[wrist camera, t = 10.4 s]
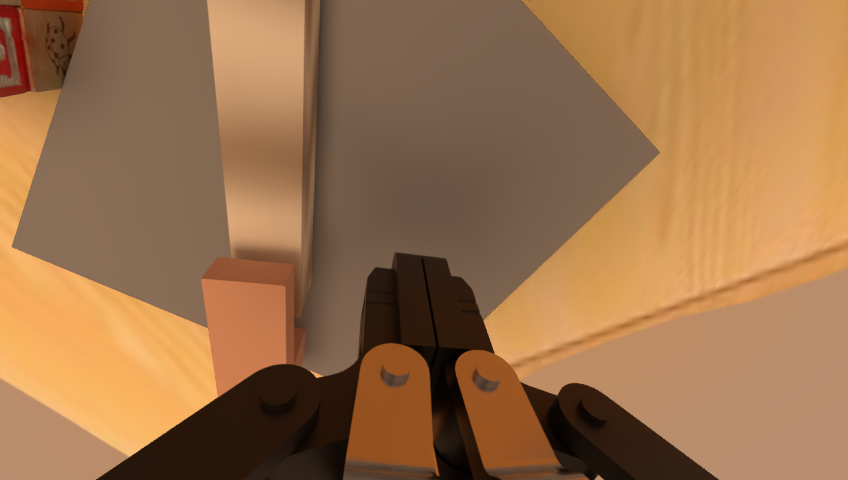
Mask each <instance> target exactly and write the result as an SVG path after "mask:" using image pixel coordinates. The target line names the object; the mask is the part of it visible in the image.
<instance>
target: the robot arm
mask: <svg viewBox="0 0 848 480" xmlns="http://www.w3.org/2000/svg"><path fill="white" fill-rule="evenodd" d="M598 475H599V476H600V477H602V478H603V479H604V480H718V479H717V478H716V477H714V476H713V475H712V474H710V473H709V472H707V471H706V470H705V469H703V468H702V467H701V466H700V465H698V464H697V463H696V462H694V461H693V460H692V459H690V458H689V457H687V456H686V455H685V454H684V453H682V452H681V451H680V450H678V449H677V448H675V447H674V446H673V445H671V444H670V443H669V442H667V441H666V440H665V439H663V438H662V437H661V436H659V435H658V434H657V433H655V432H654V431H653V430H651V429H650V428H649V427H647V426H646V425H645V424H643V423H642V422H641V421H639V420H638V419H636V418H635V417H634V416H633V415H631V414H630V413H628V412H627V411H626V410H624V409H623V408H622V407H620V406H619V405H618V404H616V403H615V402H614V401H612V400H611V399H610V398H608V397H607V396H606V395H604V394H603V393H601V392H599V391H598V390H596V389H594V388H592V387H590V386H587V385H584V384H579V383H571V384H567V385H565V386H564V387H562V389H561V390H560V392H559V393H558V395H554V394H551V393H548V392H545V391H543V390H540V389H537V388H534V387H531V386H528V385H526V384H524V383H522V382H520V381H519V378H518V376H517V374H516V373H515V371H514V370H513V368H512V367H511V366H510V365H509V364H508V363H507V362H506V361H505V360H504V359H502V358H501V357H499V356H497V355H495V353H494V350H493V347H492V345H491V342H490V339H489V336H488V333H487V330H486V327H485V325H484V322H483V319H482V316H481V315H480V310H479V307H478V305H477V304H476V299H475V296H474V293H473V290H472V288H471V287H470V286H469V285H468V284H467V283H466V282H465V280H464V279H463V278H462V277H457V276H451V273H450V269H449V266H448V262H447V260H446V258H439V257H431V256H423V255H421V256H420V255H415V254H407V253H399V252H395V254H394V257H393V262H392V267H391V269H388V268H379V267H375V268H374V270H373V271H372V272H371V273H370V275H369V276H368V277H367V283H366V289H365V295H364V302H363V308H362V314H361V322H360V335H359V347H358V360H357V361H356V362H355V363H354V364H353V365H351V366H350V367H349V368H347V369H346V370H344V371H341V372H339V373H336V374H333V375H328V376H324V377H320V378H316V377H315V376H314V375H313V374H312V373H311V372H310V371H308V370H307V369H305V368H303V367H300V366H297V365H293V364H277V365H272V366H269V367H265V368H263V369H261V370H259V371H257V372H255V373H253V374H252V375H250V376H249V377H247V378H246V379H244V380H243V381H241V382H240V383H239V384H237V385H236V386H234V387H233V388H231V389H230V390H228V391H227V392H225V393H224V394H222V395H221V396H219V397H218V398H216V399H215V400H213V401H212V402H210V403H209V404H207V405H206V406H204V407H203V408H202V409H200V410H199V411H197V412H196V413H194V414H193V415H191V416H190V417H188V418H187V419H185V420H184V421H182V422H181V423H179V424H178V425H176V426H175V427H173V428H172V429H170V430H169V431H167V432H166V433H165V434H163V435H162V436H160V437H159V438H157V439H156V440H154V441H153V442H151V443H150V444H148V445H147V446H145V447H144V448H142V449H141V450H139V451H138V452H136V453H135V454H133V455H132V456H130V457H129V458H128V459H126V460H125V461H123V462H122V463H120V464H119V465H117V466H116V467H114V468H113V469H111V470H110V471H108V472H107V473H105V474H104V475H103V476H101V477H99V478H98V479H96V480H595V478H596V477H597V476H598Z"/></svg>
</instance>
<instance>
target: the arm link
mask: <svg viewBox="0 0 848 480" xmlns="http://www.w3.org/2000/svg"><path fill="white" fill-rule="evenodd" d="M207 5H208V16H209V27H210V37H211V48H212V58H213V69H214V80H215V90H216V101H217V111H218V122H219V133H220V143H221V154H222V164H223V175H224V186H225V196H226V207H227V217H228V228H229V239H230V249H231V258H233V259H243V260H254V261H264V262H274V263H285V264H294V317H295V318H300V317H301V314H302V310H303V307H304V304H305V301H306V298H307V295H308V291H309V288H310V285H311V276H312V245H313V214H314V182H315V151H316V120H317V88H318V57H319V26H320V0H207Z"/></svg>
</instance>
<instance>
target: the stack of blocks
mask: <svg viewBox="0 0 848 480" xmlns="http://www.w3.org/2000/svg"><path fill="white" fill-rule="evenodd" d="M82 10H83V1H82V0H0V97H6V96H11V95H17V94H22V93H25V92H28V91H32V92H41V91H48V90H53V89H60V88H62V86H63V83H64V80H65V77H66V74H67V71H68V68H69V64H70V61H71V58H72V55H73V52H74V49H75V46H76V42H77V39H78V36H79V33H80V30H81V27H82V15H81V12H82Z"/></svg>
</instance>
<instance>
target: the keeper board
mask: <svg viewBox="0 0 848 480" xmlns="http://www.w3.org/2000/svg"><path fill="white" fill-rule="evenodd" d="M659 153H660V152H659V151H658V150H657V148H656V147H655V146H654V145H653V144H652V143H651V142H650V141H649V140H648V139H647V137H646V136H645V135H644V134H643V133H642V132H641V131H640V130H639V129H638V128H637V127H636V125H635V124H634V123H633V122H632V121H631V120H630V119H629V118H628V117H627V116H626V114H625V113H624V112H623V111H622V110H621V109H620V108H619V107H618V106H617V105H616V103H615V102H614V101H613V100H612V99H611V98H610V97H609V96H608V95H607V94H606V93H605V91H604V90H603V89H602V88H601V87H600V86H599V85H598V84H597V83H596V82H595V80H594V79H593V78H592V77H591V76H590V75H589V74H588V73H587V72H586V71H585V70H584V68H583V67H582V66H581V65H580V64H579V63H578V62H577V61H576V60H575V59H574V57H573V56H572V55H571V54H570V53H569V52H568V51H567V50H566V49H565V48H564V46H563V45H562V44H561V43H560V42H559V41H558V40H557V39H556V38H555V37H554V36H553V34H552V33H551V32H550V31H549V30H548V29H547V28H546V27H545V26H544V25H543V23H542V22H541V21H540V20H539V19H538V18H537V17H536V16H535V15H534V14H533V13H532V11H531V10H530V9H529V8H528V7H527V6H526V5H525V4H524V3H523V2H522V0H320V26H319V57H318V88H317V120H316V151H315V182H314V214H313V245H312V276H311V285H310V288H309V291H308V295H307V298H306V301H305V304H304V307H303V310H302V314H301V317H300V318H295V317H294V264H285V263H274V262H264V261H254V260H243V259H233V258H231V249H230V239H229V228H228V217H227V207H226V196H225V186H224V175H223V164H222V154H221V143H220V133H219V122H218V111H217V101H216V90H215V80H214V69H213V58H212V48H211V37H210V27H209V16H208V5H207V0H90V1H89V5H88V8H87V11H86V14H85V17H84V20H83V23H82V27H81V30H80V33H79V36H78V39H77V42H76V46H75V49H74V52H73V55H72V58H71V61H70V64H69V68H68V71H67V74H66V77H65V80H64V83H63V86H62V90H61V93H60V96H59V99H58V102H57V105H56V109H55V112H54V115H53V118H52V121H51V124H50V127H49V131H48V134H47V137H46V140H45V143H44V146H43V149H42V153H41V156H40V159H39V162H38V165H37V168H36V172H35V175H34V178H33V181H32V184H31V187H30V190H29V194H28V197H27V200H26V203H25V206H24V209H23V212H22V216H21V219H20V222H19V225H18V228H17V231H16V235H15V238H14V241H13V244H12V247H13V248H15V249H18V250H20V251H22V252H25V253H27V254H30V255H32V256H35V257H37V258H39V259H42V260H44V261H47V262H49V263H52V264H54V265H56V266H59V267H61V268H64V269H66V270H68V271H71V272H73V273H76V274H78V275H81V276H83V277H85V278H88V279H90V280H93V281H95V282H97V283H100V284H102V285H105V286H107V287H110V288H112V289H114V290H117V291H119V292H122V293H124V294H127V295H129V296H131V297H134V298H136V299H139V300H141V301H143V302H146V303H148V304H151V305H153V306H156V307H158V308H160V309H163V310H165V311H168V312H170V313H172V314H175V315H177V316H180V317H182V318H185V319H187V320H189V321H192V322H194V323H197V324H199V325H202V326H204V327H206V328H208V330H209V337H210V344H211V351H212V358H213V365H214V372H215V379H216V386H217V393H218V397H219V396H221V395H222V394H224V393H225V392H227V391H228V390H230V389H231V388H233V387H234V386H236V385H237V384H239V383H240V382H241V381H243V380H244V379H246V378H247V377H249V376H250V375H252V374H253V373H255V372H257V371H259V370H261V369H263V368H265V367H269V366H272V365H277V364H293V365H297V366H300V367H303V368H306V369H308V370H310V371H313V372H315V373H318V374H320V375H322V376H328V375H333V374H336V373H339V372H341V371H344V370H346V369H347V368H349V367H350V366H351V365H353V364H354V363H355V362H356V361H357V360H358V347H359V335H360V322H361V314H362V308H363V302H364V295H365V289H366V283H367V277H368V276H369V275H370V273H371V272H372V271H373V270H374V268H375V267H379V268H388V269H391V267H392V262H393V257H394V254H395V252H399V253H407V254H415V255H420V256H421V255H423V256H431V257H439V258H446V260H447V262H448V266H449V269H450V273H451V276H457V277H462V278H463V279H464V280H465V282H466V283H467V284H468V285H469V286H470V287H471V288H472V290H473V293H474V296H475V299H476V304H477V305H478V307H479V310H480V315H481V316H482V319H483V320H484V319H485V318H486V317H487V316H488V315H489V314H490V313H491V312H492V311H493V310H495V309H496V308H497V307H498V306H499V305H500V304H501V303H502V302H503V301H504V300H505V299H506V298H507V297H508V296H509V295H510V294H511V293H512V292H514V291H515V290H516V289H517V288H518V287H519V286H520V285H521V284H522V283H523V282H524V281H525V280H526V279H527V278H528V277H529V276H530V275H531V274H533V273H534V272H535V271H536V270H537V269H538V268H539V267H540V266H541V265H542V264H543V263H544V262H545V261H546V260H547V259H548V258H549V257H550V256H552V255H553V254H554V253H555V252H556V251H557V250H558V249H559V248H560V247H561V246H562V245H563V244H564V243H565V242H566V241H567V240H568V239H569V238H571V237H572V236H573V235H574V234H575V233H576V232H577V231H578V230H579V229H580V228H581V227H582V226H583V225H584V224H585V223H586V222H587V221H588V220H590V219H591V218H592V217H593V216H594V215H595V214H596V213H597V212H598V211H599V210H600V209H601V208H602V207H603V206H604V205H605V204H606V203H608V202H609V201H610V200H611V199H612V198H613V197H614V196H615V195H616V194H617V193H618V192H619V191H620V190H621V189H622V188H623V187H624V186H625V185H627V184H628V183H629V182H630V181H631V180H632V179H633V178H634V177H635V176H636V175H637V174H638V173H639V172H640V171H641V170H642V169H643V168H644V167H646V166H647V165H648V164H649V163H650V162H651V161H652V160H653V159H654V158H655V157H656V156H657V155H658V154H659Z"/></svg>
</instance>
